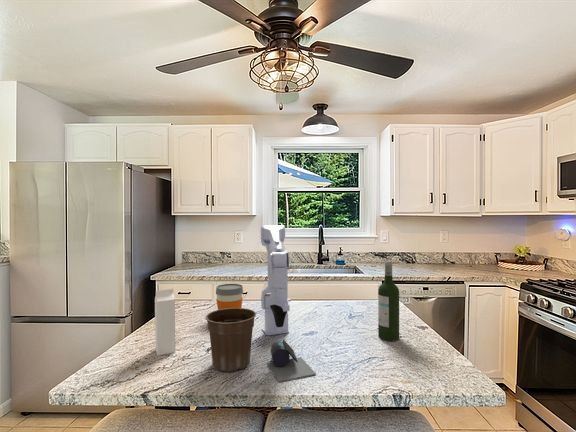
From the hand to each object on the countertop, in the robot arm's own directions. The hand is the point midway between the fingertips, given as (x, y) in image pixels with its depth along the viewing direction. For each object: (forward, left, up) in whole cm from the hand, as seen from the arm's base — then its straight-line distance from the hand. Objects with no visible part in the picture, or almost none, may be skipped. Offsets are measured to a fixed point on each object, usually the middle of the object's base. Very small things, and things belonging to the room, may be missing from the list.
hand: (279, 326), depth 111 cm
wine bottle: (-45, 0, -11) cm, 46 cm away
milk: (+37, -19, -11) cm, 43 cm away
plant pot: (+16, -1, -11) cm, 20 cm away
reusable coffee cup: (+9, -46, -11) cm, 48 cm away
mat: (0, +10, -10) cm, 14 cm away
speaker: (0, 0, -8) cm, 8 cm away
